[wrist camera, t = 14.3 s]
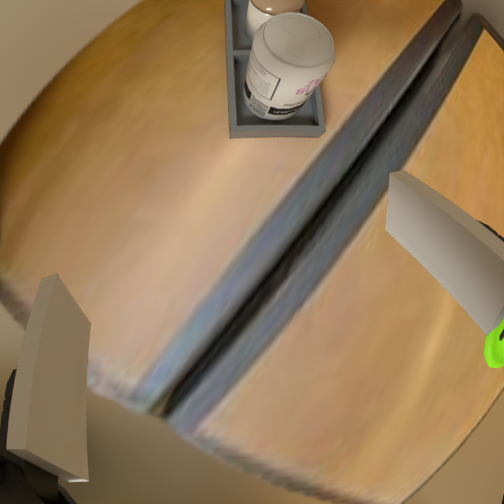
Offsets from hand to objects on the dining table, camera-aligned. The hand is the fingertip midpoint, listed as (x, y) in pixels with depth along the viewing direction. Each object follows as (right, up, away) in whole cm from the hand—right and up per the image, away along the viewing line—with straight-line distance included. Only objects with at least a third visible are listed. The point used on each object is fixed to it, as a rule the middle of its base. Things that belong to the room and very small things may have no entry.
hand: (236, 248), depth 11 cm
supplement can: (+3, +21, +28) cm, 35 cm away
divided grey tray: (+3, +27, +28) cm, 39 cm away
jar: (+3, +32, +27) cm, 42 cm away
